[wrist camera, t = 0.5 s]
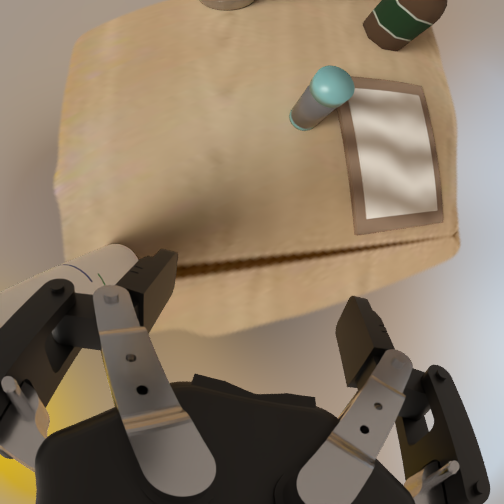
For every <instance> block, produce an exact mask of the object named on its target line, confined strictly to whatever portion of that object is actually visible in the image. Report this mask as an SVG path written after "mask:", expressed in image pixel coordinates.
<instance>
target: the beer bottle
mask: <svg viewBox="0 0 504 504" xmlns="http://www.w3.org/2000/svg"><path fill="white" fill-rule="evenodd" d="M446 6H447V0H382V1H381V2H380V3H379V4H378V5H377V6H376V8H375V9H374V10H373V11H372V12H371V13H370V15H369V16H368V17H367V18H366V20H365V21H364V23H363V26H364V28H365V31H366V33H367V36H368V38H369V39H371V40H372V41H373V42H374V43H376V44H377V45H378V46H379V47H380V48H382V49H388V50H393V51H398V50H399V49H401V48H402V47H404V46H405V45H406V44H408V43H409V42H410V41H412V40H413V39H414V38H415V37H417V36H418V35H419V34H421V33H422V32H423V31H425V30H426V29H427V28H429V27H430V26H432V25H433V24H434V23H435V22H436V21H437V20H438V19H439V18H440V17H441V15H442V14H443V12H444V11H445V8H446Z"/></svg>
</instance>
